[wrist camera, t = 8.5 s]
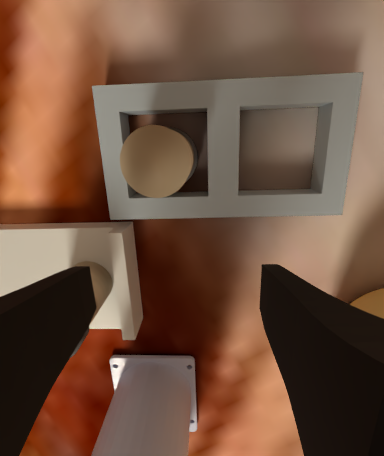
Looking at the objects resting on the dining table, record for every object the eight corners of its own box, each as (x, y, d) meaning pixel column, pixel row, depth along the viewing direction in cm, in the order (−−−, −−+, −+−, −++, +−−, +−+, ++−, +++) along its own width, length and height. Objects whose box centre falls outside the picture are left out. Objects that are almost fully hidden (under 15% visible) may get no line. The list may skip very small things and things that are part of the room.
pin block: (328, 208, 19) (342, 214, 17) (119, 212, 20) (110, 219, 18) (345, 80, 17) (363, 72, 15) (104, 92, 18) (92, 86, 16)
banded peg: (203, 134, 18) (202, 130, 12) (191, 190, 19) (185, 209, 14) (147, 122, 18) (121, 111, 12) (139, 178, 19) (111, 192, 14)
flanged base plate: (143, 317, 23) (135, 340, 20) (-6, 317, 24) (-32, 338, 21) (132, 221, 20) (121, 233, 18) (-35, 224, 21) (-70, 236, 18)
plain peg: (118, 303, 21) (85, 362, 15) (70, 303, 21) (21, 361, 16) (111, 258, 20) (74, 304, 14) (61, 259, 20) (4, 304, 14)
